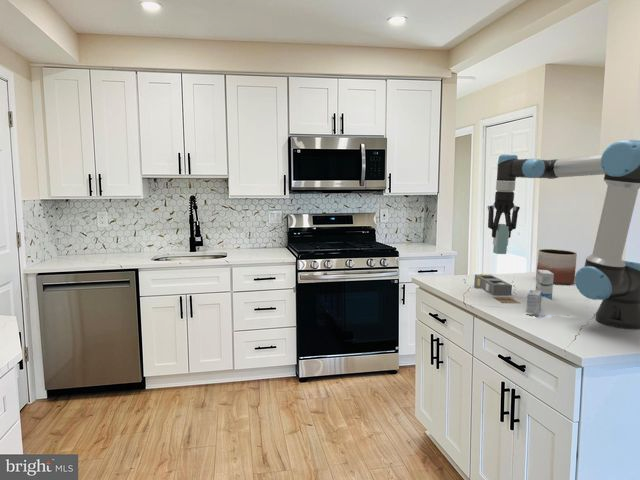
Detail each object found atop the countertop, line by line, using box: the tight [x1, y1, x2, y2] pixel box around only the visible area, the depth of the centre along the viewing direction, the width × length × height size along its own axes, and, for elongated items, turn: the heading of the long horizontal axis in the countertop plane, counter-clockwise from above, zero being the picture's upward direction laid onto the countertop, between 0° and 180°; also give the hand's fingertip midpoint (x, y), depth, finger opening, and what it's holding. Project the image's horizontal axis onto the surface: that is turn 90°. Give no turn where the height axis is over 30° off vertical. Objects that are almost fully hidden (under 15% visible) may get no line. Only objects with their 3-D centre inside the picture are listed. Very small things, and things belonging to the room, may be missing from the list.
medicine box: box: [525, 289, 543, 318], centre depth 170 cm, size 8×4×9 cm, turn 148°
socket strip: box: [473, 273, 513, 296], centre depth 204 cm, size 22×8×6 cm, turn 2°
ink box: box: [535, 269, 554, 300], centre depth 197 cm, size 8×5×12 cm, turn 168°
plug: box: [492, 223, 509, 255], centre depth 192 cm, size 4×4×13 cm
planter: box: [535, 248, 577, 285], centre depth 230 cm, size 18×18×16 cm
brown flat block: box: [492, 296, 521, 304], centre depth 186 cm, size 10×8×2 cm
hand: (500, 245), depth 193 cm, fingers closed on plug, 4 cm apart
